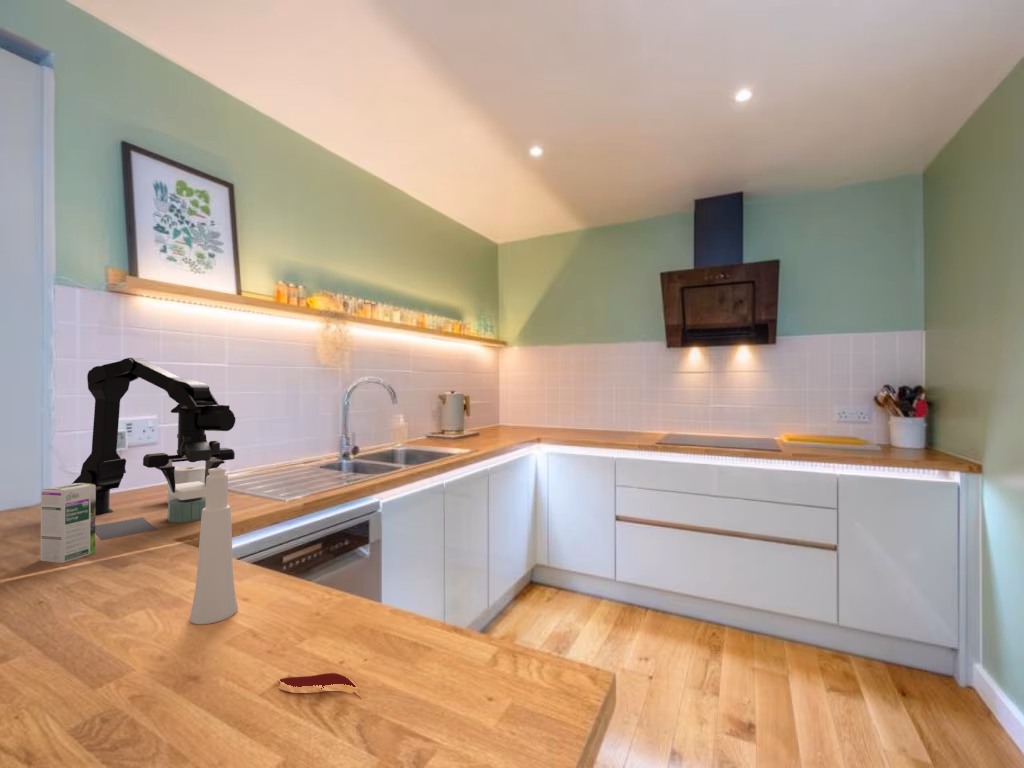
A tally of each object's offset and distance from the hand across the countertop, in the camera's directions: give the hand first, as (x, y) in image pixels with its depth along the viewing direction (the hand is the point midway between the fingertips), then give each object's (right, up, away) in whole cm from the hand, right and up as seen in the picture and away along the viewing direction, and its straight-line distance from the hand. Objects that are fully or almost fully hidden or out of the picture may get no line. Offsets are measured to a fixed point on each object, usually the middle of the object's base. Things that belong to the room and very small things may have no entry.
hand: (190, 490), depth 115 cm
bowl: (0, -8, 0) cm, 8 cm away
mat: (-9, -7, -10) cm, 15 cm away
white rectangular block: (0, -1, 0) cm, 1 cm away
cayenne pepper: (+62, -8, -65) cm, 90 cm away
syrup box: (-4, -7, -28) cm, 29 cm away
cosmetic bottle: (+39, -7, -49) cm, 63 cm away
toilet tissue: (-13, -8, +18) cm, 24 cm away
